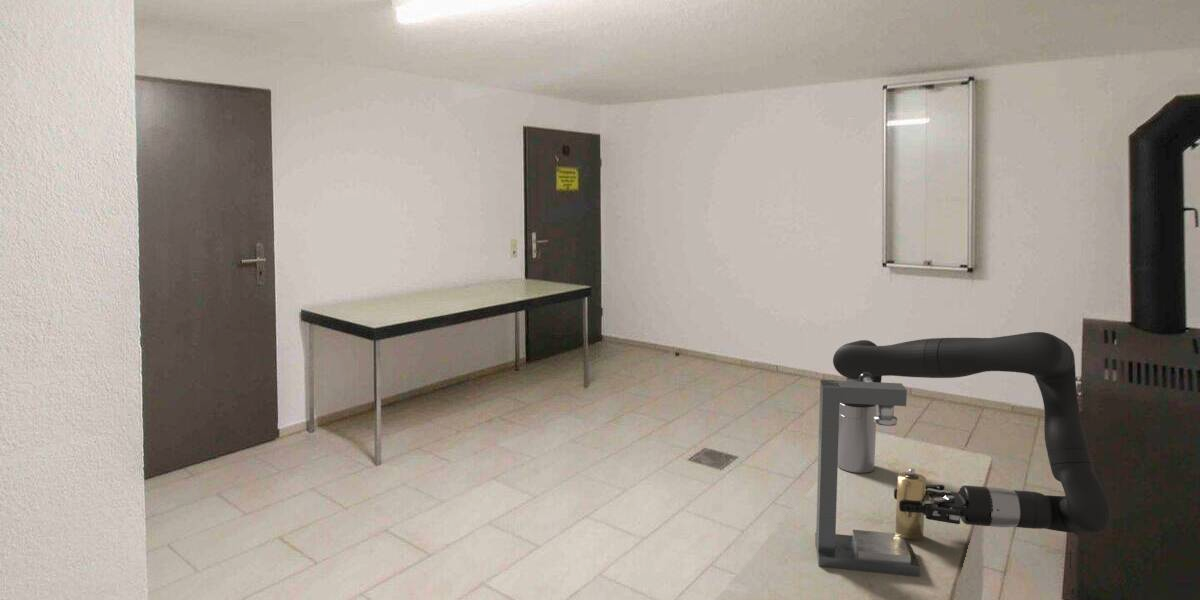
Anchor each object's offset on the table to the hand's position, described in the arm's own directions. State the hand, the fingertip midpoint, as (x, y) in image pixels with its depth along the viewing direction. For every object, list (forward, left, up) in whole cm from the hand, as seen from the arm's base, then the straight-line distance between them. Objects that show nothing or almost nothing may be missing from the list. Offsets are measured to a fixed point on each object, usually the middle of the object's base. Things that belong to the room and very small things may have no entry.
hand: (897, 499), depth 140 cm
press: (+3, -10, -8) cm, 13 cm away
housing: (+1, +2, -7) cm, 7 cm away
